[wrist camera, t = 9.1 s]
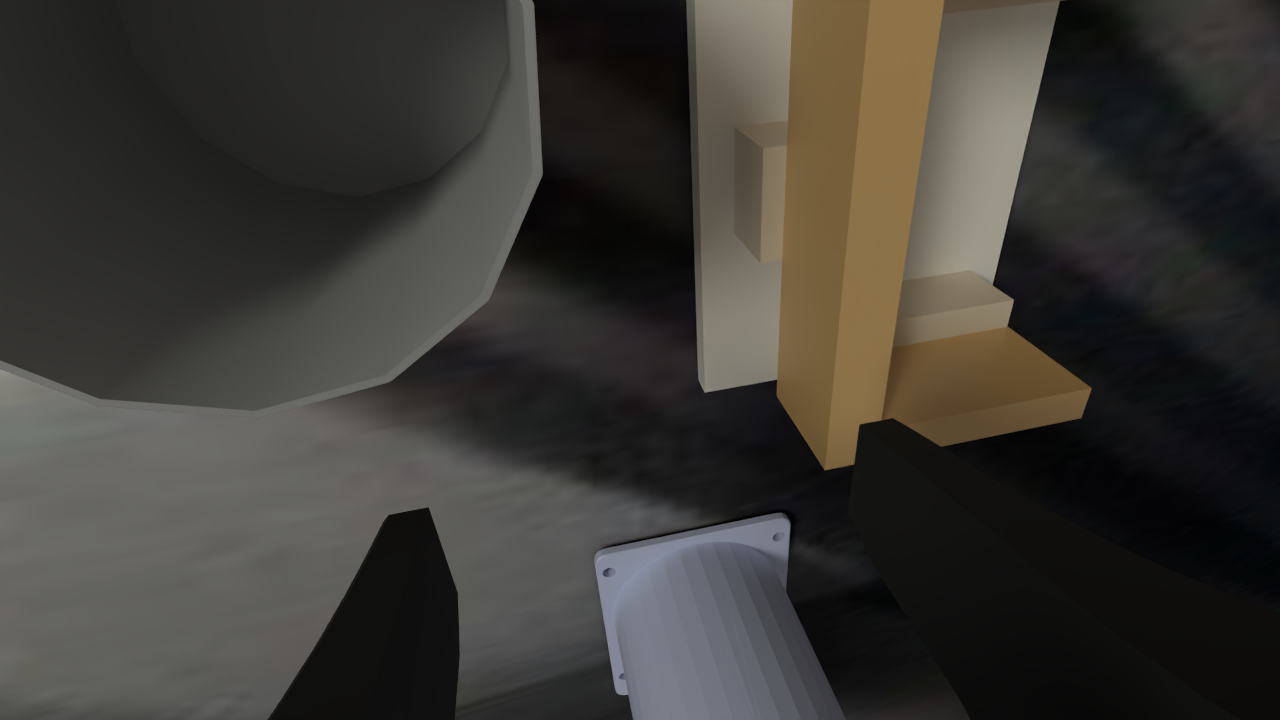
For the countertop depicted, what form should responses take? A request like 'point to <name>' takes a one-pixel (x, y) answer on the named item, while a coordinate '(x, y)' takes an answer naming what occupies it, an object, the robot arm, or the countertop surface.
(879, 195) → the tan u-shaped clamp
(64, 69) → the cup
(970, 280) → the display stand
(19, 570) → the countertop surface
